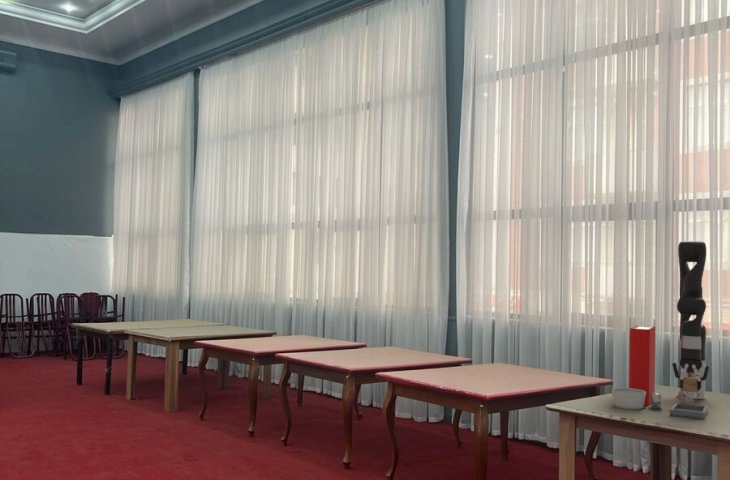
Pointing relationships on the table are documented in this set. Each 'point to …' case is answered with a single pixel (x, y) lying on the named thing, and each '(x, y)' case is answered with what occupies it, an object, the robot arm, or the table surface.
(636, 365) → the book
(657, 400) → the steel cylinder
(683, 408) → the charcoal tray
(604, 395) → the table surface
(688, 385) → the walnut cube
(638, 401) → the ramekin
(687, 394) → the game die
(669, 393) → the table surface
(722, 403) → the table surface
